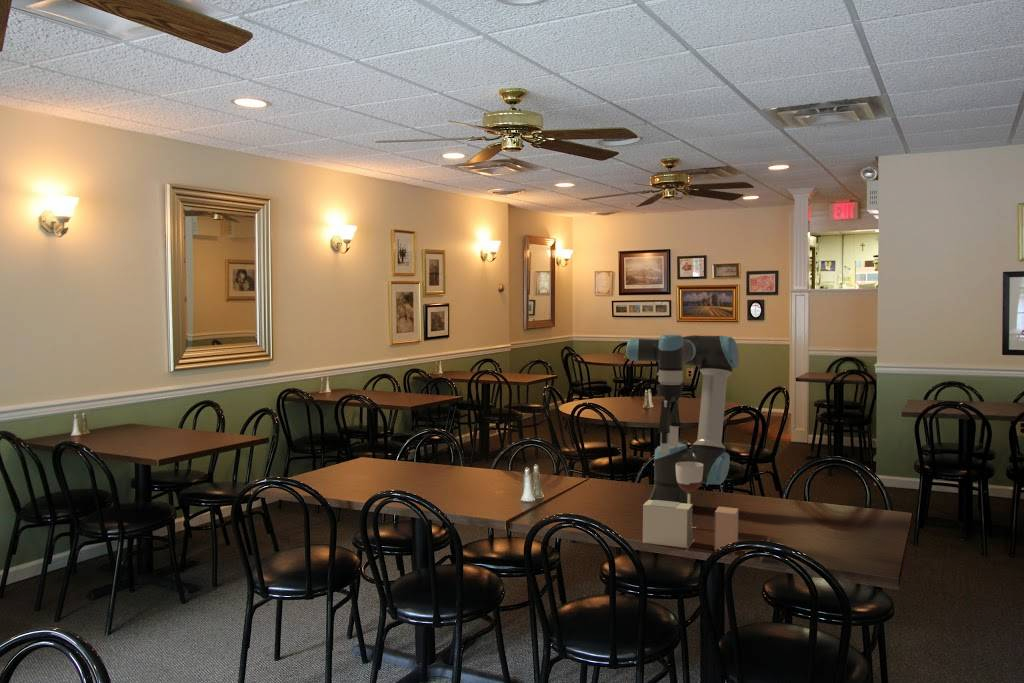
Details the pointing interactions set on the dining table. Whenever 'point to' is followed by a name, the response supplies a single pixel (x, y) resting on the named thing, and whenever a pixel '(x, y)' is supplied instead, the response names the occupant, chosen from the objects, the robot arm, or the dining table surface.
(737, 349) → the robot arm
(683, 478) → the wineglass
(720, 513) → the stub
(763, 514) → the dining table surface
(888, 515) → the dining table surface
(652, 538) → the beige rectangular block
